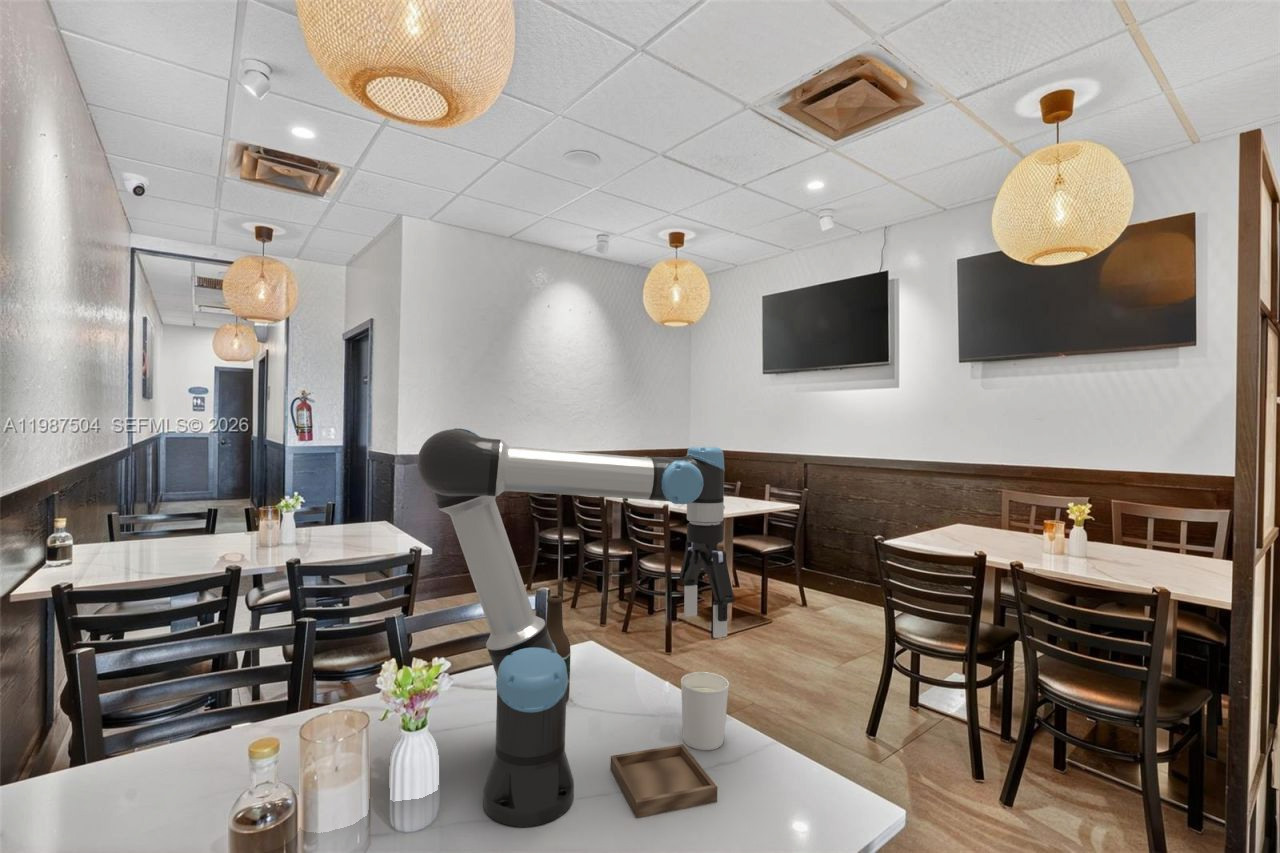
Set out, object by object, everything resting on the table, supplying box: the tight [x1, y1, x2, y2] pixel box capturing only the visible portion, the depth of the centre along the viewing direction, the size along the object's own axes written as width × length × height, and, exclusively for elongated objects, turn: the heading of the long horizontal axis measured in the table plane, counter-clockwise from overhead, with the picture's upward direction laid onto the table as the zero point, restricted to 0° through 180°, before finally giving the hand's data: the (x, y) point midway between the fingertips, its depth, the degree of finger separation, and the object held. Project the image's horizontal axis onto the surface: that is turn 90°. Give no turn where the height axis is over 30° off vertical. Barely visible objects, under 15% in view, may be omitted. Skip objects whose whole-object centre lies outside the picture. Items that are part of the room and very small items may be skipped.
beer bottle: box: [545, 594, 572, 703], centre depth 138 cm, size 8×8×24 cm
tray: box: [609, 743, 718, 819], centre depth 107 cm, size 15×15×2 cm
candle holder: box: [680, 671, 730, 751], centre depth 123 cm, size 10×10×12 cm
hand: (704, 625), depth 123 cm, fingers open, 13 cm apart
